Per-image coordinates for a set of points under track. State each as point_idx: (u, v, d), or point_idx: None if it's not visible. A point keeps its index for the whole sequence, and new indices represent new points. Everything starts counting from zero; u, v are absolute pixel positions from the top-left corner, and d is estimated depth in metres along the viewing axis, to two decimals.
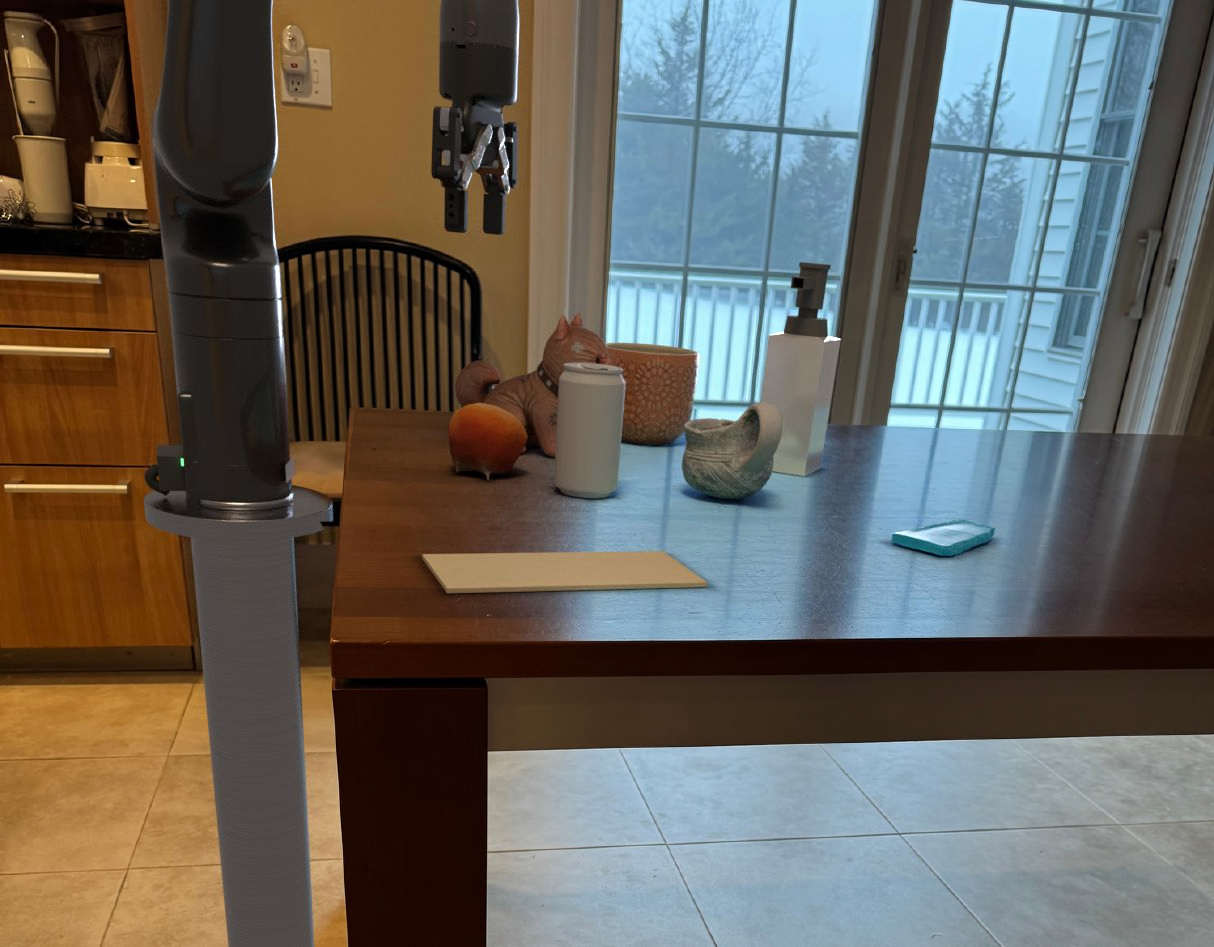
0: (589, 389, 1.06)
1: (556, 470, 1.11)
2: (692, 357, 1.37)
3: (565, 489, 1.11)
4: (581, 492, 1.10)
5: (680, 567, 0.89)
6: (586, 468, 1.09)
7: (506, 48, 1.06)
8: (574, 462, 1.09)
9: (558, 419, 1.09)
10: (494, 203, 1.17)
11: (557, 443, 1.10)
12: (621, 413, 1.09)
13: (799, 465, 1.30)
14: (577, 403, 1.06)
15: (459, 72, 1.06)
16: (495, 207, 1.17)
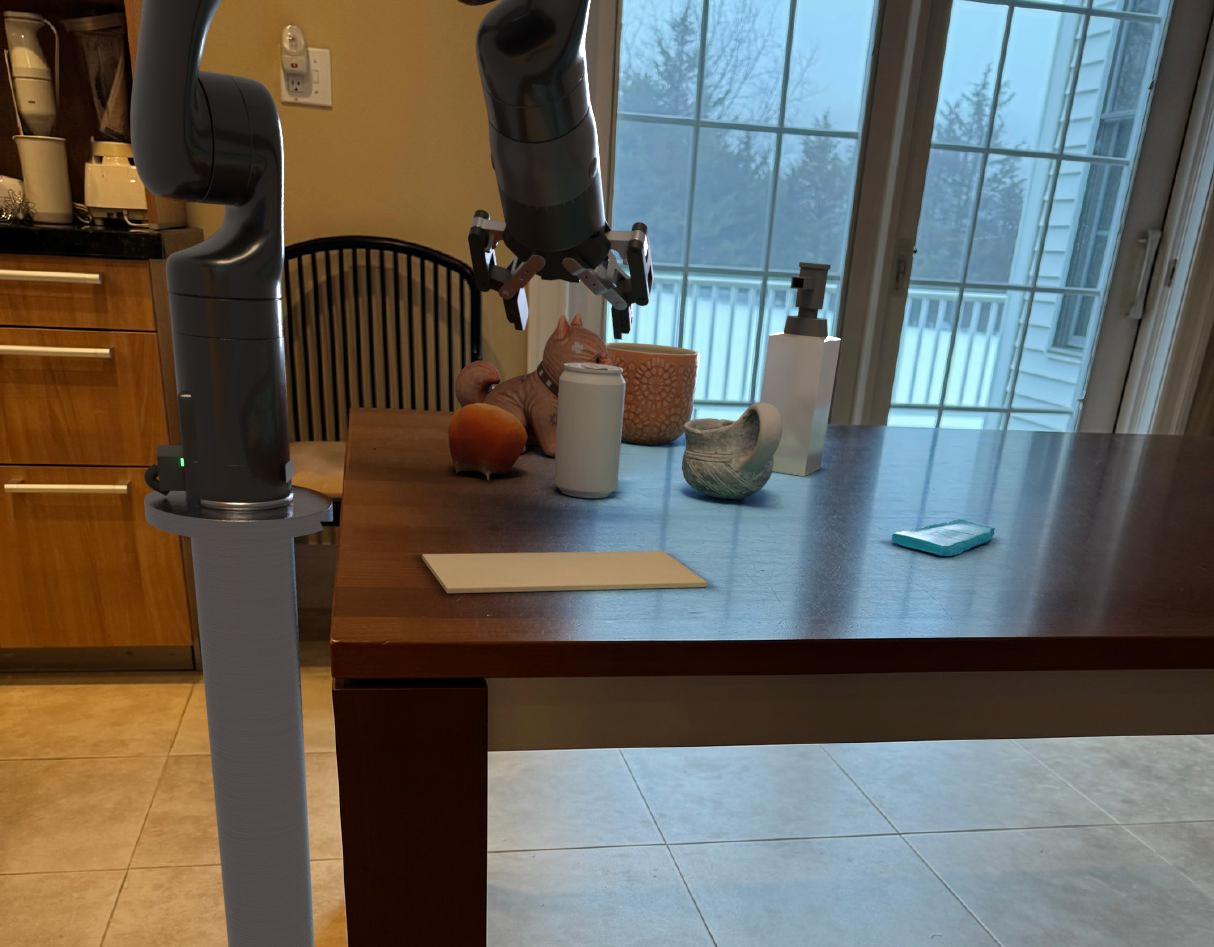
0: (589, 389, 1.06)
1: (556, 470, 1.11)
2: (692, 357, 1.37)
3: (565, 489, 1.11)
4: (581, 492, 1.10)
5: (680, 567, 0.89)
6: (586, 468, 1.09)
7: (520, 204, 0.80)
8: (574, 462, 1.09)
9: (558, 419, 1.09)
10: None
11: (557, 443, 1.10)
12: (621, 413, 1.09)
13: (799, 465, 1.30)
14: (577, 403, 1.06)
15: None
16: None
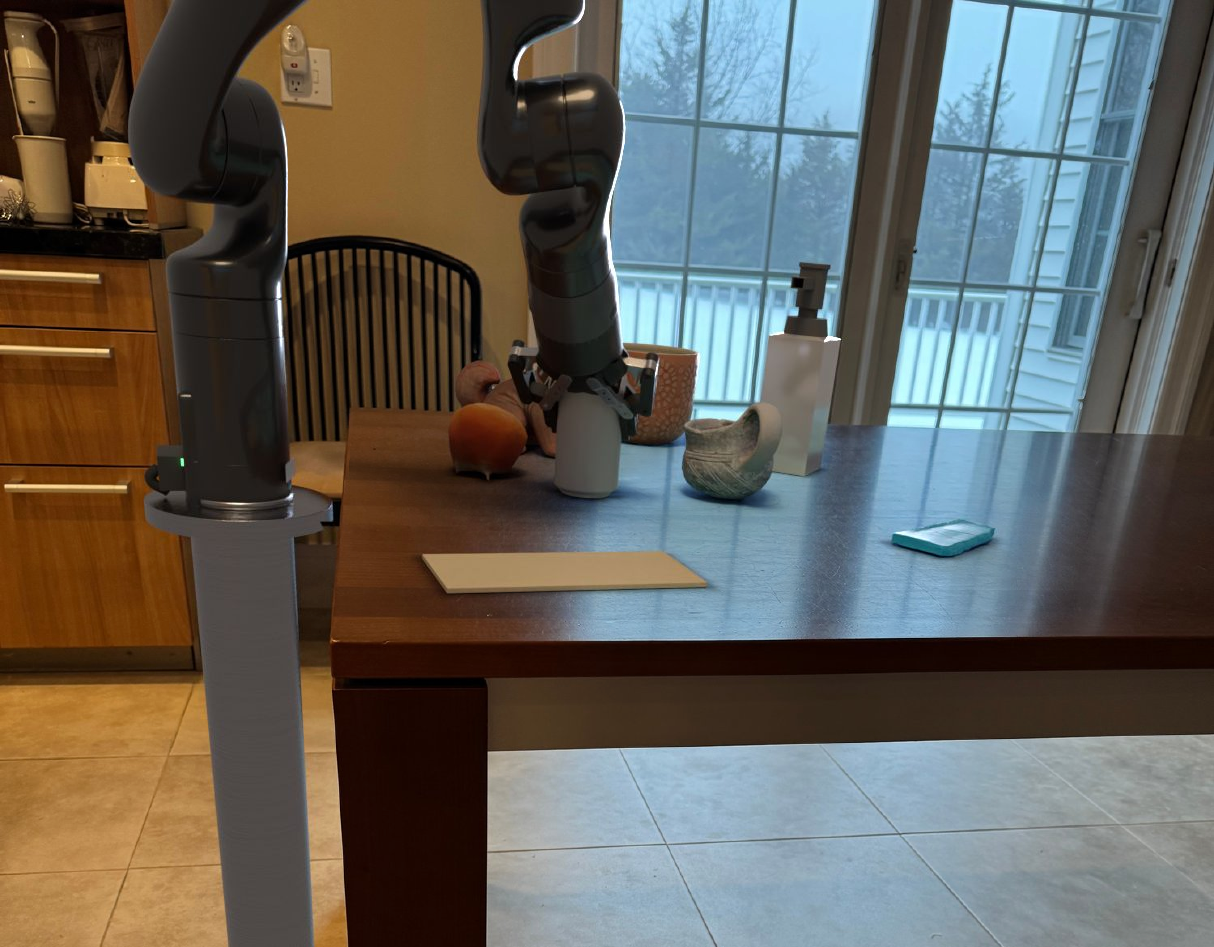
0: None
1: (556, 470, 1.11)
2: (692, 357, 1.37)
3: (565, 489, 1.11)
4: (581, 492, 1.10)
5: (680, 567, 0.89)
6: (586, 468, 1.09)
7: (552, 340, 0.96)
8: (574, 462, 1.09)
9: (558, 419, 1.09)
10: None
11: (557, 443, 1.10)
12: None
13: (799, 465, 1.30)
14: (578, 403, 1.06)
15: None
16: None
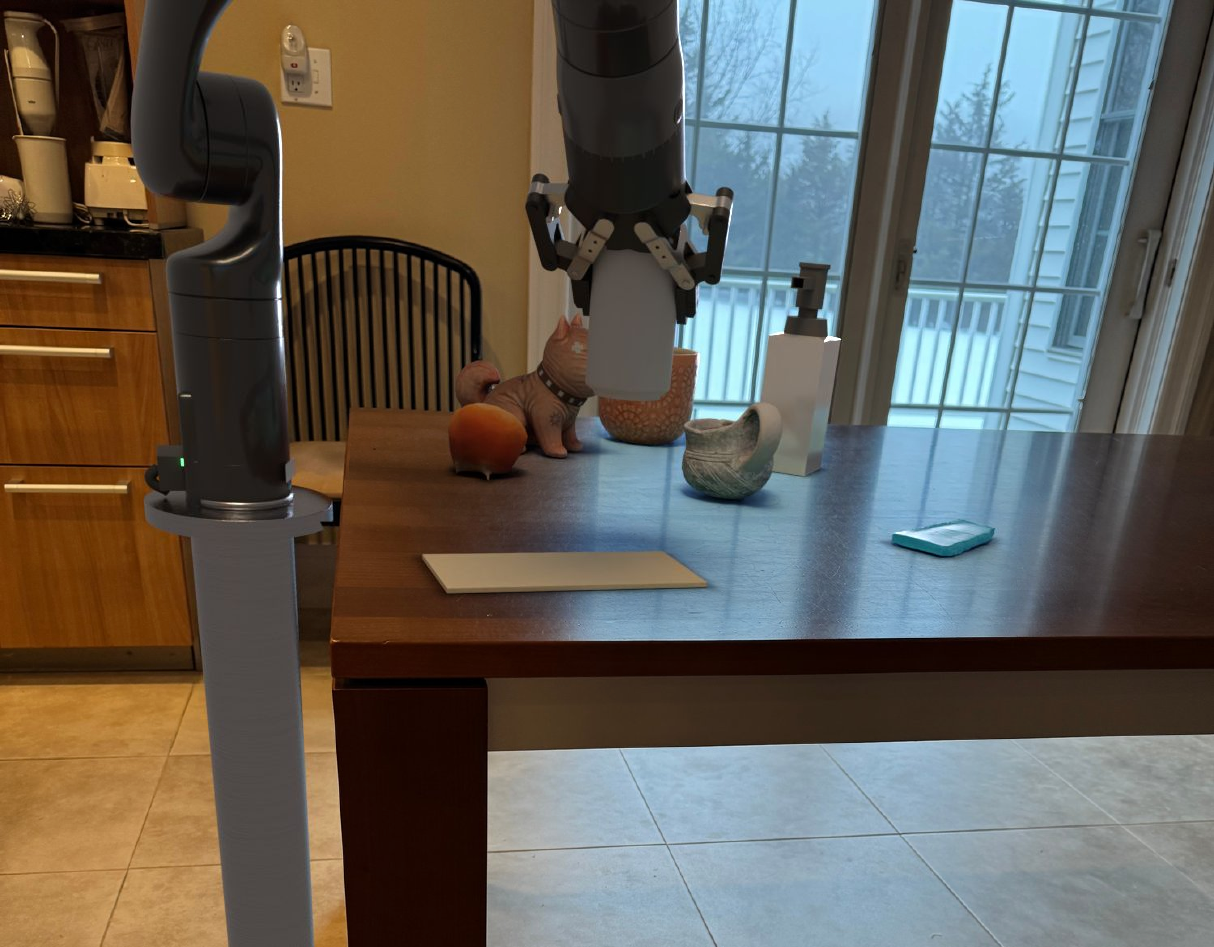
0: None
1: (589, 363, 0.83)
2: (692, 357, 1.37)
3: (601, 388, 0.83)
4: (622, 391, 0.82)
5: (680, 567, 0.89)
6: (631, 358, 0.81)
7: (591, 154, 0.68)
8: (614, 350, 0.81)
9: (593, 292, 0.81)
10: None
11: (591, 326, 0.82)
12: None
13: (799, 465, 1.30)
14: (620, 266, 0.78)
15: None
16: None
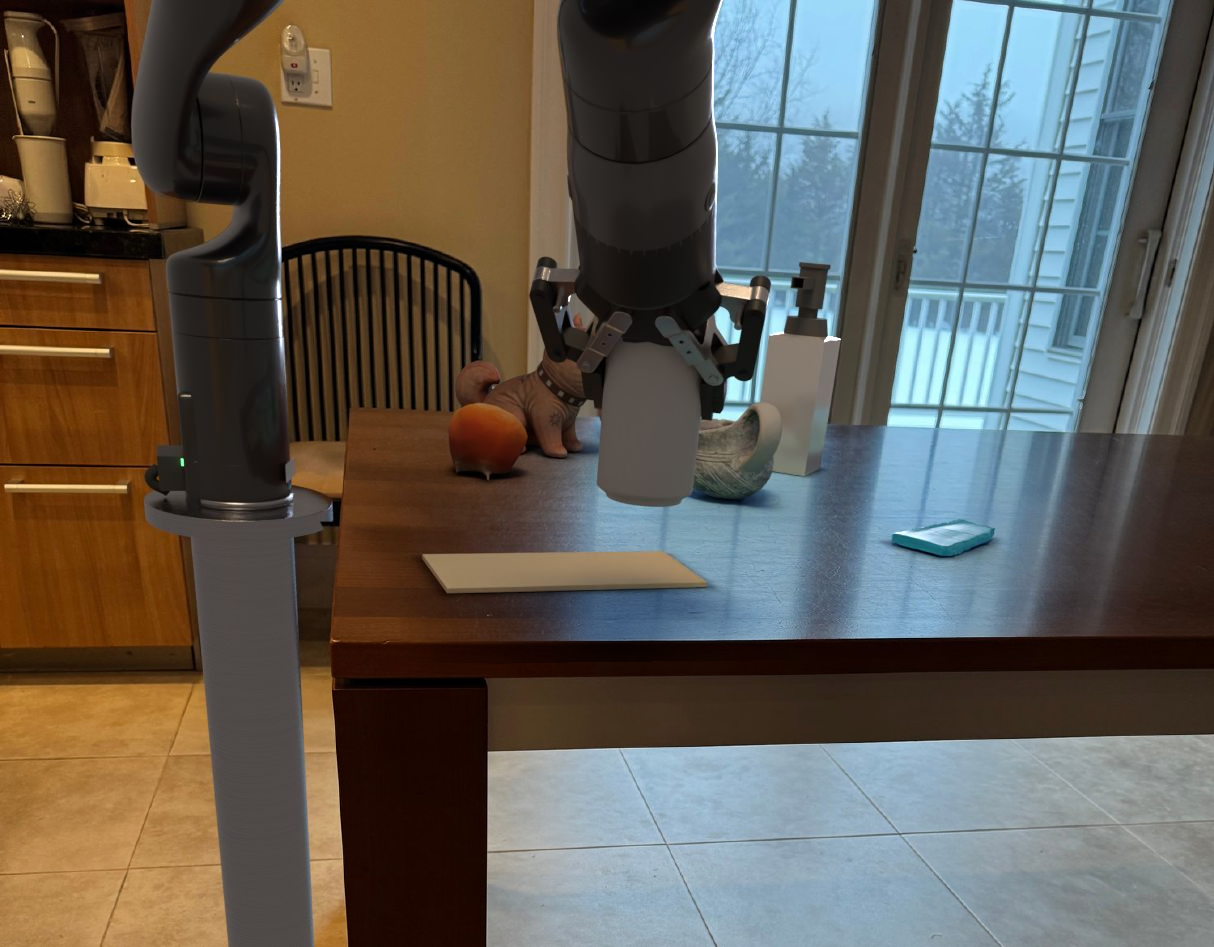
0: None
1: (601, 464, 0.73)
2: None
3: (615, 493, 0.72)
4: (639, 497, 0.72)
5: (680, 567, 0.89)
6: (649, 461, 0.71)
7: (607, 246, 0.58)
8: (631, 452, 0.71)
9: (606, 385, 0.71)
10: None
11: (603, 423, 0.72)
12: None
13: (799, 465, 1.30)
14: (638, 359, 0.68)
15: None
16: None
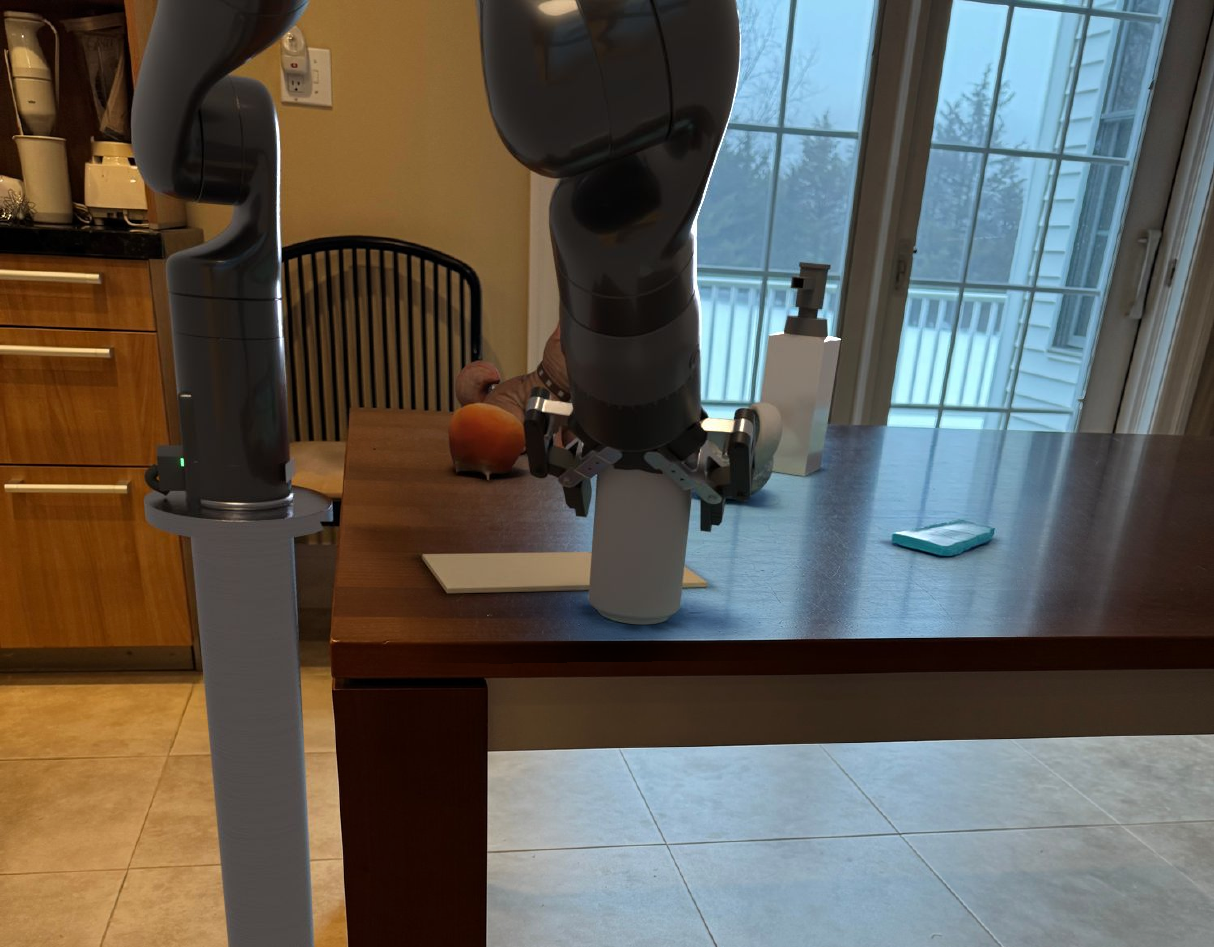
0: (644, 471, 0.71)
1: (592, 584, 0.76)
2: None
3: (606, 612, 0.76)
4: (629, 617, 0.76)
5: None
6: (638, 584, 0.74)
7: (597, 400, 0.61)
8: (620, 575, 0.74)
9: (597, 512, 0.74)
10: None
11: (594, 546, 0.75)
12: (689, 504, 0.74)
13: (799, 465, 1.30)
14: (626, 491, 0.72)
15: None
16: None
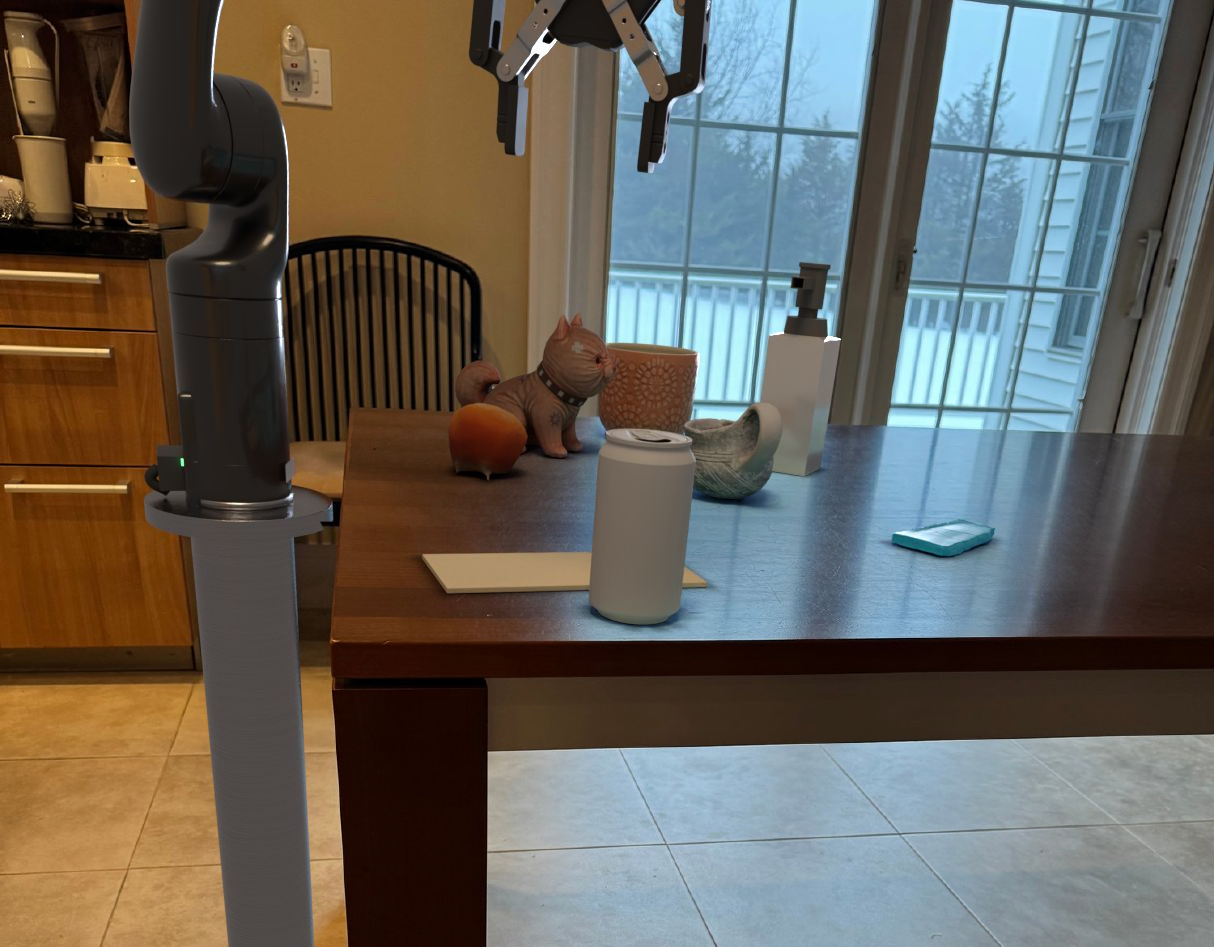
0: (644, 471, 0.71)
1: (592, 584, 0.76)
2: (692, 357, 1.37)
3: (606, 612, 0.76)
4: (629, 617, 0.76)
5: None
6: (638, 584, 0.74)
7: None
8: (620, 575, 0.74)
9: (597, 512, 0.74)
10: None
11: (594, 546, 0.75)
12: (689, 504, 0.74)
13: (799, 465, 1.30)
14: (626, 491, 0.72)
15: None
16: None
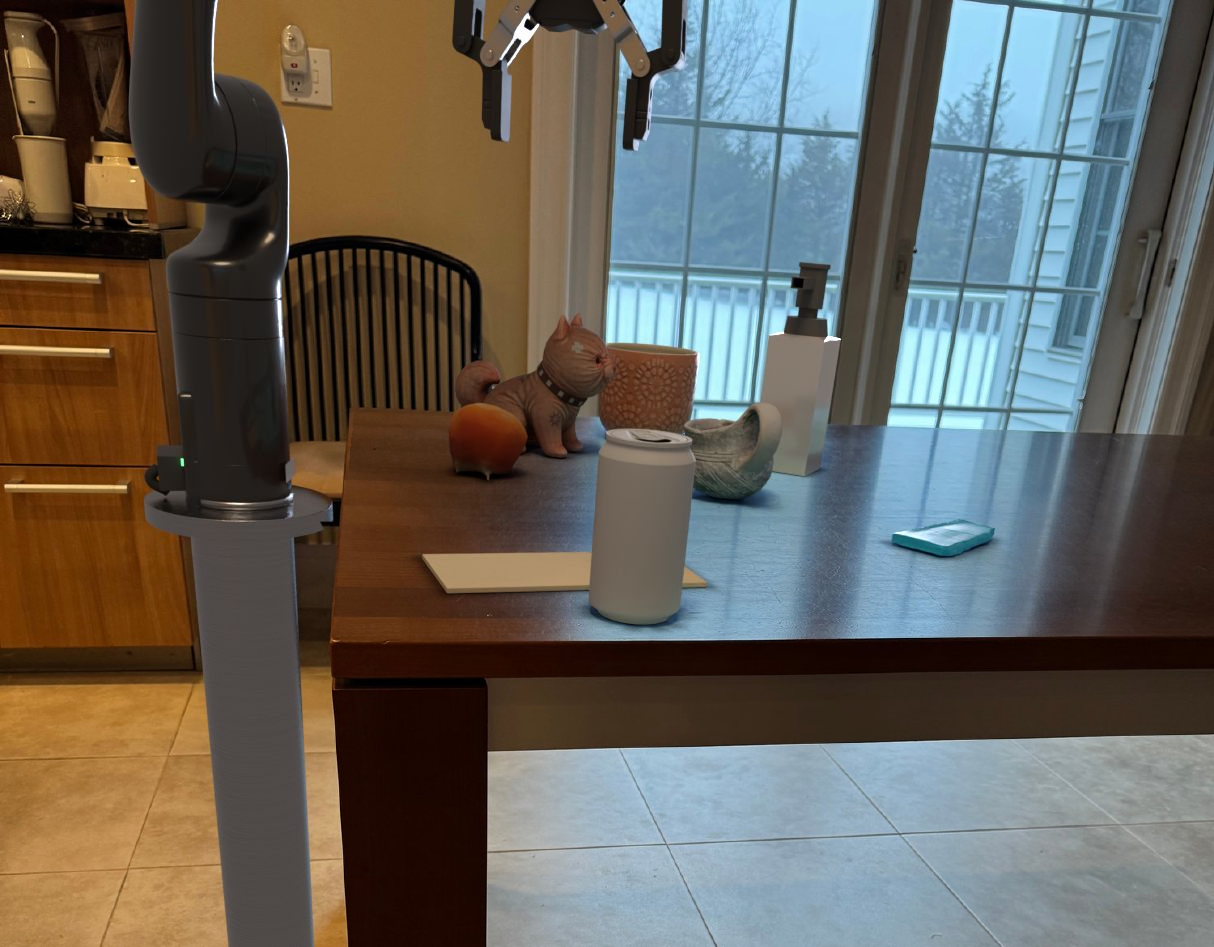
0: (644, 471, 0.71)
1: (592, 584, 0.76)
2: (692, 357, 1.37)
3: (606, 612, 0.76)
4: (629, 617, 0.76)
5: None
6: (638, 584, 0.74)
7: None
8: (620, 575, 0.74)
9: (597, 512, 0.74)
10: None
11: (594, 546, 0.75)
12: (689, 504, 0.74)
13: (799, 465, 1.30)
14: (626, 491, 0.72)
15: None
16: None
